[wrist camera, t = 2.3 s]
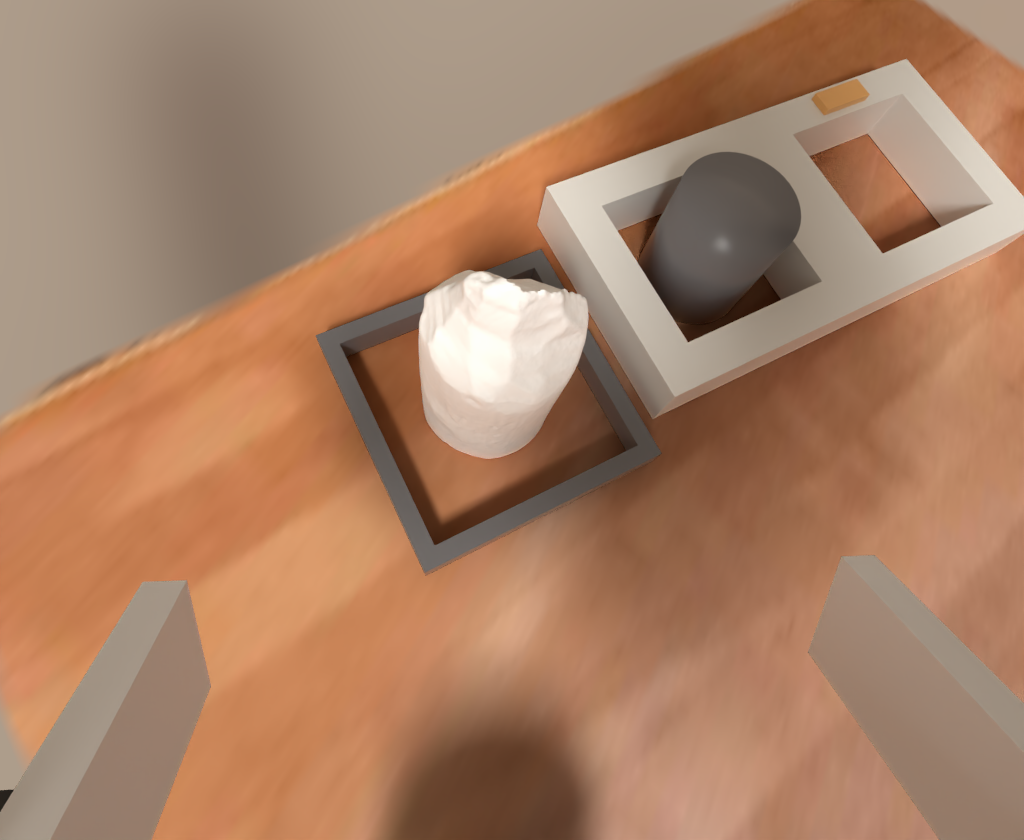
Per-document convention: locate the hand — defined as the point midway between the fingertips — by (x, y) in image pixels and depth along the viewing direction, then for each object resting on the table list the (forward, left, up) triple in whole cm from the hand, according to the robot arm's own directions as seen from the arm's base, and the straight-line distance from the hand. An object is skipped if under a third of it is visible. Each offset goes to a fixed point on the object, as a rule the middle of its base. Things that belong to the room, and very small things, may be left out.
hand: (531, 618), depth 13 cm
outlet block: (+11, -24, -14) cm, 29 cm away
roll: (+9, -5, -14) cm, 17 cm away
